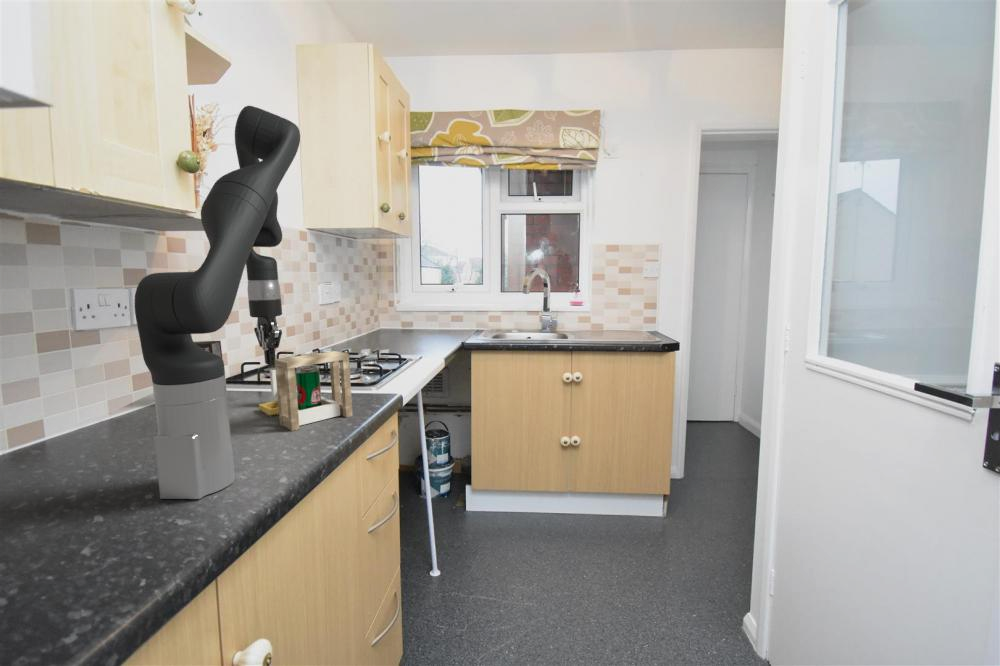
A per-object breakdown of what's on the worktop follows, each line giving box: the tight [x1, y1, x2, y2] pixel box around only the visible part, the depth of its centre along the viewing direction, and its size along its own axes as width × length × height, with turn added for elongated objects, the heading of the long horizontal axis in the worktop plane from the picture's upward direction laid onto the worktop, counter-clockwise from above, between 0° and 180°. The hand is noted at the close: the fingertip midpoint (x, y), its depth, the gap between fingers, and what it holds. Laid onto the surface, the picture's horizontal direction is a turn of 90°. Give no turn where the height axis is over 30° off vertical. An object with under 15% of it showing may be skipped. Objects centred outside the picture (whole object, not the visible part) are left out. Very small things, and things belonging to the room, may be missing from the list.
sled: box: [269, 369, 341, 427], centre depth 111 cm, size 10×22×9 cm, turn 47°
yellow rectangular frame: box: [258, 400, 279, 417], centre depth 115 cm, size 12×7×2 cm, turn 137°
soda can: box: [295, 364, 322, 410], centre depth 106 cm, size 5×5×12 cm
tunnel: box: [274, 350, 354, 432], centre depth 104 cm, size 14×6×15 cm, turn 137°
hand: (270, 363), depth 121 cm, fingers closed
